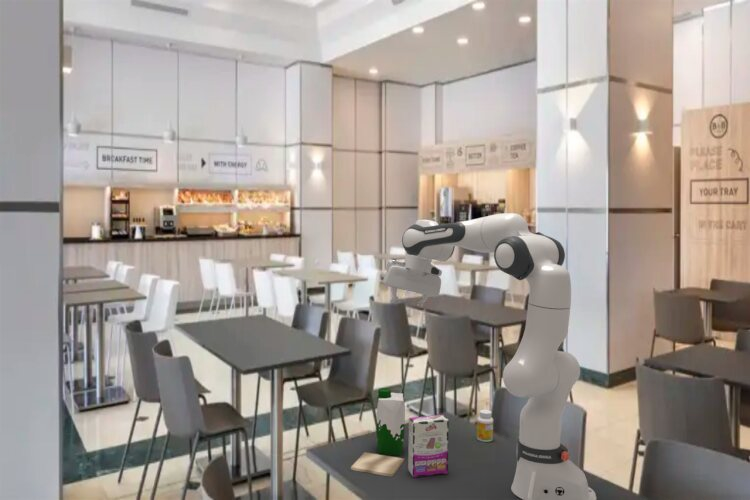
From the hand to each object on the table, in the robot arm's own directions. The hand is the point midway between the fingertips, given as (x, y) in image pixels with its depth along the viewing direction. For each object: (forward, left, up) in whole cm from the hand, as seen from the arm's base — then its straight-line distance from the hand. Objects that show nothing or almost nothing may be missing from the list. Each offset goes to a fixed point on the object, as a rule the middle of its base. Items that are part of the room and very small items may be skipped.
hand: (407, 304), depth 208 cm
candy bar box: (-16, +29, -46) cm, 56 cm away
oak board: (-1, +29, -45) cm, 54 cm away
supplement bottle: (-28, -5, -45) cm, 53 cm away
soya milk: (-1, +17, -45) cm, 49 cm away
